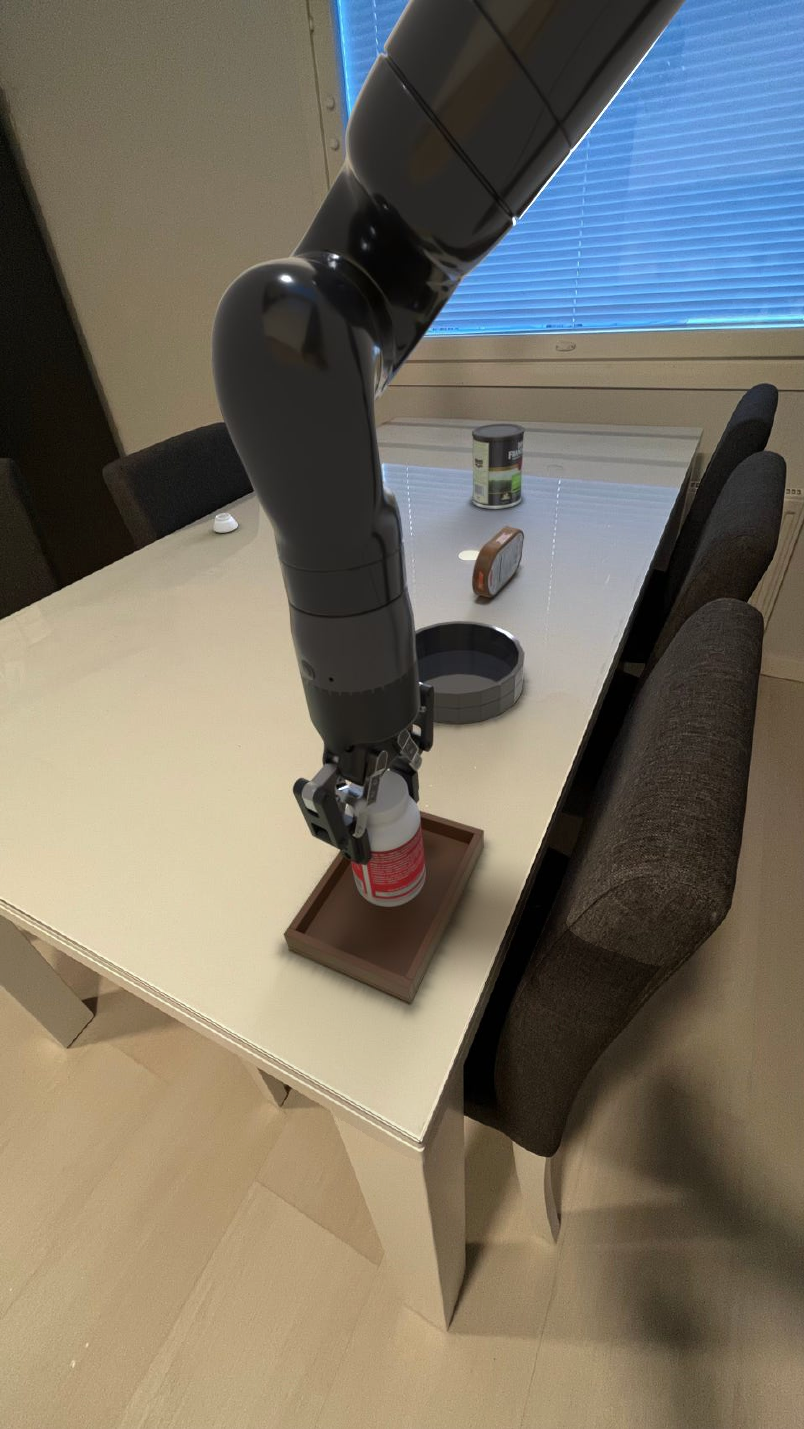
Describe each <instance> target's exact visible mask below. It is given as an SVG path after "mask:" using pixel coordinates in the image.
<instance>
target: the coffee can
mask: <svg viewBox="0 0 804 1429" xmlns="http://www.w3.org/2000/svg"><path fill="white" fill-rule="evenodd" d="M524 434H525V427H524V426H522V425H519V424H513V423H491V424H485V425H481V426H477V427H475V428H474V429H472V430H471V436H472V504H473V505H474V506H476V507H478V508H482V509H486V510H487V509H488V510H502V509H503V510H504V509H508V508H512V507H515V506H517V505H519V504H520V503H521V501H522V479H523V478H522V477H523V460H524V459H523V457H524V437H525V436H524Z"/></svg>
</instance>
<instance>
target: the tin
mask: <svg viewBox="0 0 804 1429" xmlns="http://www.w3.org/2000/svg"><path fill="white" fill-rule="evenodd" d="M524 540H525V534H524V532H523V530H522V529H520V528H516V527H512V526H509V525H505V526H503V527H502V528H501V529H500V530H499V531H498V532H496V534H494V535H493V536H492V537H491V538H490V539H488V540H487V541H486V542H485V543H484V544H483V545H482V547H481V548H480V550H479V552H478V554H477V556H476V560H475V562H474V564H473V565H474V566H473V570H472V576H471V579H472V580H471V588H472V592H473V593H474V595H476V596H482V597H486V598H493V597H495V596H496V595H497V594H499V592H500V591H501V590H502V589H503V588H504V587H505V585H507V584H508V583H509V581H510V580H511V579H512V578H513V577H515V575H516V573H517V571H518V569H519V567H520V564H521V562H522V557H523V547H524Z"/></svg>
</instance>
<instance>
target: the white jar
mask: <svg viewBox="0 0 804 1429" xmlns="http://www.w3.org/2000/svg"><path fill="white" fill-rule="evenodd" d="M214 517H215V518H214V522H213V526H212V529H213V531H214V532H216V533H218V534H219V533H221V534H223V533H230V532H232V531H234V530H236V529H237V528H238V526H239V524H238V522H237V521H236V520H235V519H234V517H232V516H231V514H230V513H229V512H222V513H219V514H216V516H214Z"/></svg>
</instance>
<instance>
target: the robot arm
mask: <svg viewBox="0 0 804 1429" xmlns="http://www.w3.org/2000/svg"><path fill="white" fill-rule="evenodd" d="M686 2H687V0H408V2H407V4H406V5H405V8H404V9H403V11H402V12H401V14H400V16H399V18H398V19H397V22H396V23H395V25H394V26H393V29H392V30H391V32H390V34H389V36H388V38H387V39H386V41H385V42H384V45H383V51H384V52H385V54H384V53H383V52H379V54H378V55H377V57H376V59H375V60H374V63H373V64H372V66H371V68H370V70H369V73H368V74H367V76H366V78H365V80H364V82H363V84H362V87H361V88H360V91H359V93H358V95H357V97H356V100H355V102H354V104H353V107H352V109H351V111H350V115H349V118H348V121H347V125H346V129H345V137H344V138H345V139H344V140H345V144H344V145H345V159H344V161H343V164H342V166H341V168H340V170H339V171H338V174H337V176H336V178H335V179H334V180H333V183H332V185H331V186H330V188H329V190H328V192H327V193H326V196H325V197H324V198H323V201H322V203H321V204H320V206H319V209H318V210H317V212H316V213H315V215H314V217H313V219H312V221H311V222H310V225H309V226H308V228H307V230H306V231H305V233H304V235H303V237H302V238H301V239H300V241H299V243H298V244H297V246H296V247H295V249H294V250H293V251H292V253H291V254H290V255H289V256H288V257H283V258H276V259H270V260H266V261H262V262H259V263H256V264H255V265H252V266H251V267H249V268H247V269H245V270H243V271H242V272H241V273H240V274H239V275H238V276H237V277H235V279H234V280H232V281H231V283H230V284H229V285H228V286H227V287H226V289H225V290H224V292H223V294H222V296H221V298H220V300H219V301H218V305H217V307H216V311H215V314H214V317H213V322H212V327H211V336H210V337H211V339H210V355H211V356H210V357H211V369H212V376H213V384H214V388H215V393H216V398H217V401H218V406H219V410H220V413H221V416H222V419H223V422H224V425H225V427H226V429H227V432H228V435H229V437H230V440H231V443H232V445H233V448H234V449H235V452H236V454H237V456H238V458H239V461H240V463H241V465H242V468H243V470H244V472H245V474H246V476H247V478H248V481H249V483H250V485H251V487H252V490H253V492H254V494H255V496H256V499H257V501H258V503H259V504H260V507H261V508H262V510H263V511H264V513H265V516H266V517H267V519H268V521H269V523H270V525H271V527H272V530H273V533H274V534H273V535H274V542H275V547H276V553H277V556H278V557H277V558H278V562H279V566H280V571H281V576H282V580H283V584H284V589H285V593H286V597H287V603H288V612H289V626H290V634H291V640H292V643H293V648H294V649H293V650H294V652H295V653H294V654H295V657H296V662H297V666H298V671H299V675H300V679H301V684H302V688H303V693H304V697H305V701H306V706H307V710H308V715H309V718H310V721H311V723H312V725H313V727H314V729H315V730H316V732H317V733H318V734H319V736H320V738H321V739H322V742H323V752H322V757H321V762H322V767H321V768H320V769H319V771H318V772H317V773H316V774H315V775H314V776H313V778H312V779H311V780H309V779H307V778H304V777H299V778H298V779H296V781H295V782H294V784H293V787H292V794H293V796H294V798H295V800H296V804H297V805H298V807H299V809H300V811H301V814H302V815H303V818H304V820H305V823H306V825H307V828H308V830H309V832H310V834H311V836H312V837H314V838H315V839H317V840H320V841H322V842H323V843H326V844H328V845H330V846H331V847H334V848H336V849H338V850H339V852H341V855H342V856H343V857H344V858H346V859H348V860H350V861H352V862H354V863H356V864H358V865H359V863H360V864H362V865H367V863H368V862H369V861H370V860H371V859H372V854H371V848H370V843H369V837H368V831H367V829H366V822H367V816H368V811H369V808H370V807H372V806H374V805H375V804H376V800H377V795H378V789H379V784H380V779H381V777H382V776H383V774H384V773H385V771H386V770H389V771H392V772H395V773H397V774H399V775H400V776H402V777H403V778H404V780H405V781H406V783H407V787H408V792H409V796H410V797H411V798H412V799H413V800H414V801H415V803H416V804H417V805H418V803H419V802H420V780H419V770H420V768H421V766H422V765H423V757H422V754H423V752H426V753H429V752H430V751H431V750H432V748H433V745H434V731H435V730H434V729H435V728H434V726H435V725H434V724H435V721H434V687H433V686H430V685H426V684H424V683H421V682H419V674H418V662H417V650H416V636H415V631H416V624H415V623H416V622H415V616H414V615H415V614H414V610H413V605H412V601H411V597H410V593H409V588H408V578H407V576H408V575H407V566H406V554H405V541H404V533H403V524H402V517H401V511H400V508H399V502H398V501H397V497H396V495H395V493H394V491H393V490H392V489H391V487H390V486H389V485H388V484H387V483H385V481H383V470H382V463H381V458H380V456H381V455H380V450H379V443H378V435H377V426H376V408H375V407H376V406H375V404H376V402H377V401H378V400H379V399H380V397H381V396H382V395H383V393H384V392H385V391H386V389H388V387H389V386H390V384H391V382H392V381H393V380H394V379H395V377H396V376H397V375H398V373H399V372H400V371H401V369H402V368H403V366H404V365H405V364H406V363H407V360H408V359H409V358H410V356H411V355H412V354H413V352H414V351H415V349H416V348H417V347H418V346H419V344H420V342H421V341H422V340H423V338H424V337H425V335H426V334H427V333H428V331H429V330H430V329H431V327H432V325H433V324H434V323H435V321H436V319H437V318H438V316H439V315H440V314H441V312H442V311H443V309H444V308H445V307H446V305H447V304H448V303H449V301H450V299H451V298H452V296H453V295H454V294H455V292H456V290H457V288H458V287H459V286H460V284H462V282H463V280H464V279H465V278H466V277H467V276H468V275H469V274H470V273H472V271H474V270H475V269H476V268H477V267H479V265H480V264H481V263H482V262H483V261H484V260H485V259H486V258H487V257H488V256H489V255H490V254H491V253H492V252H493V251H494V249H496V247H497V246H498V245H499V244H500V243H501V242H502V241H503V239H505V237H506V236H507V235H508V233H509V232H510V231H511V230H512V229H514V227H515V226H516V220H521V218H522V216H524V214H525V213H526V211H527V210H528V209H529V208H530V206H531V205H532V204H533V203H534V202H535V200H536V199H537V198H538V197H539V195H540V194H541V192H542V191H543V190H544V189H545V187H546V186H547V185H549V182H550V181H551V180H552V179H553V177H554V176H555V175H556V174H557V172H558V171H559V170H560V168H561V167H562V166H563V165H564V163H565V162H566V161H567V160H568V158H569V157H570V156H571V154H572V152H574V151H575V149H576V148H577V147H578V146H579V144H580V143H581V142H582V141H583V139H584V138H585V137H586V135H587V134H588V133H589V132H590V130H591V129H592V128H593V126H594V125H595V124H596V122H597V121H598V120H599V119H600V117H601V116H602V115H603V113H604V112H605V111H606V109H607V108H608V106H610V104H611V103H612V101H614V99H615V98H616V96H618V94H619V92H620V91H621V89H622V88H623V87H624V85H625V84H626V83H627V82H628V80H629V79H630V77H631V76H632V75H633V73H634V72H635V71H636V69H637V68H638V67H639V65H640V64H641V63H642V61H643V60H644V59H645V57H647V55H648V53H649V52H650V51H651V49H652V48H653V47H654V45H655V44H656V42H657V41H658V39H659V38H660V37H661V35H662V34H663V33H664V32H665V30H666V29H667V27H668V26H669V25H670V23H671V22H672V21H673V19H674V18H675V16H676V15H677V14H678V12H679V11H680V10H681V8H682V7H683V5H684V4H685V3H686ZM515 219H516V220H515ZM414 726H417V727H419V730H420V733H419V732H416V731H414ZM347 782H349V783H350V784H351V783H354V784H356V785H358V786H361V787H363V792H361V791H359V790H357V789H354V788H352V787H350V785H348V783H347ZM348 805H350V806H352V807H353V809H354V813H353V817H351V816H349V815H347V814H345V810H346V808H347V806H348Z"/></svg>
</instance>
